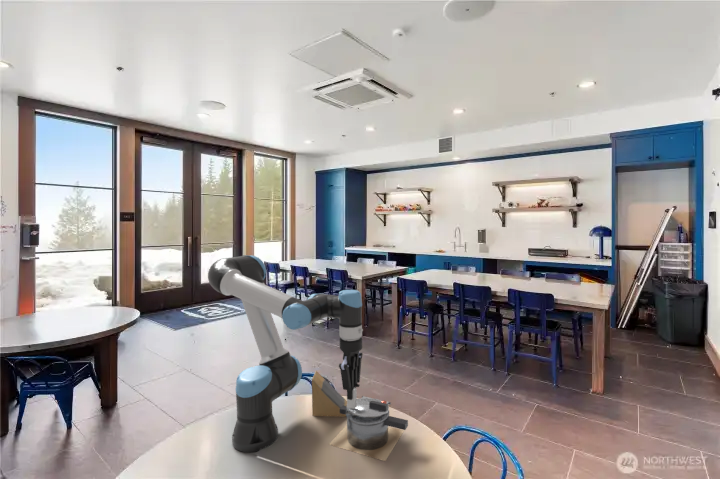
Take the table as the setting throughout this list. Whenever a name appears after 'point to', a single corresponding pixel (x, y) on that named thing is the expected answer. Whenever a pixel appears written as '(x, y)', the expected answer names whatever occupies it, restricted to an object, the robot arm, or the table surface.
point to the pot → (370, 429)
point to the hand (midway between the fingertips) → (351, 407)
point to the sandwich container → (325, 398)
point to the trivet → (376, 453)
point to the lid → (370, 407)
